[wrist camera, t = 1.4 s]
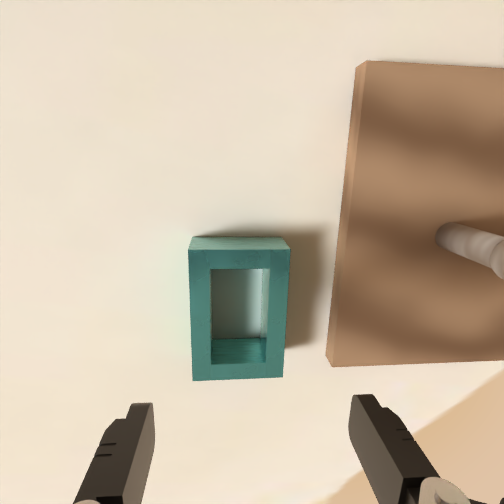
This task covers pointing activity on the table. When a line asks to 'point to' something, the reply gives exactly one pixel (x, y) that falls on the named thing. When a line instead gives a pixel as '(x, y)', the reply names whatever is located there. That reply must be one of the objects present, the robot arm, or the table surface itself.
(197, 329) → the teal open frame
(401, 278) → the plate
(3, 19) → the table surface
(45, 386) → the table surface
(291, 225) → the table surface
